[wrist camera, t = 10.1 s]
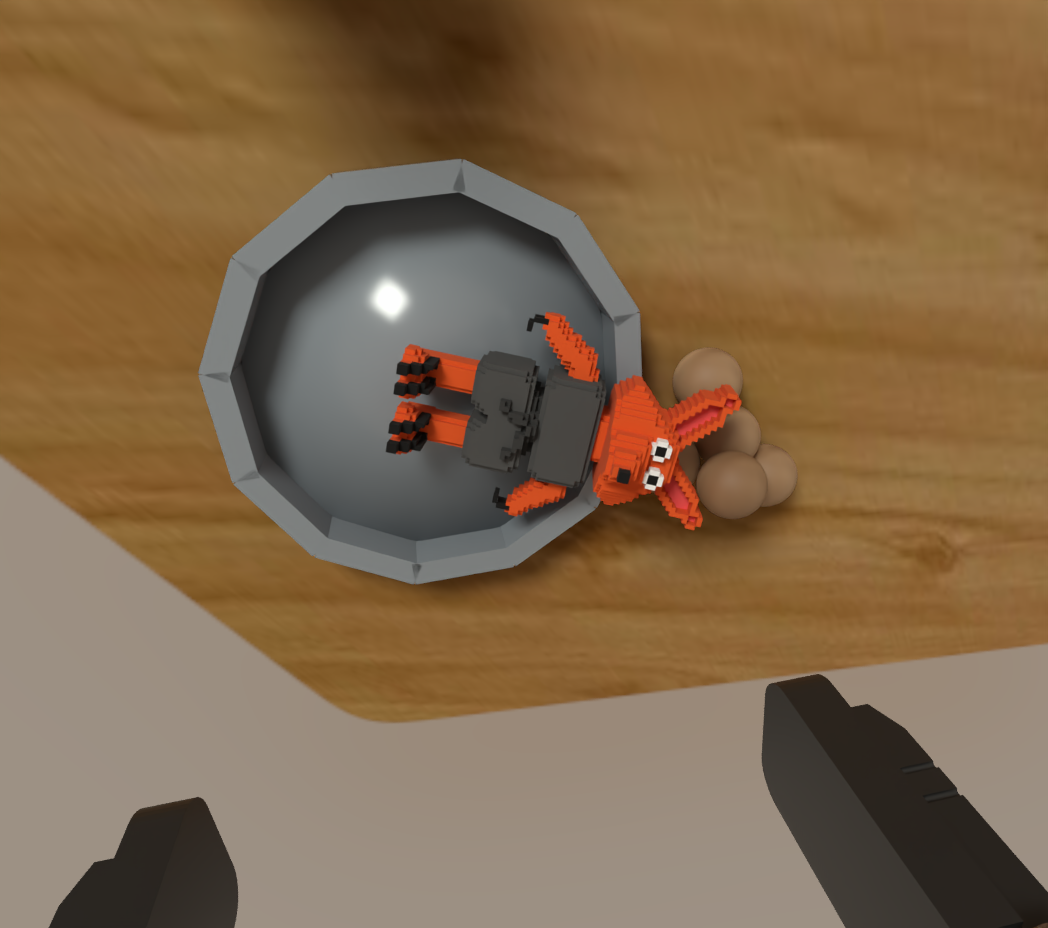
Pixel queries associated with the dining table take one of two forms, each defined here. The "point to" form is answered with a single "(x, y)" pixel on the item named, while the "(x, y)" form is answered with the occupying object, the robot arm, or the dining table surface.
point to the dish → (378, 346)
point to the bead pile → (730, 445)
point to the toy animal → (558, 423)
